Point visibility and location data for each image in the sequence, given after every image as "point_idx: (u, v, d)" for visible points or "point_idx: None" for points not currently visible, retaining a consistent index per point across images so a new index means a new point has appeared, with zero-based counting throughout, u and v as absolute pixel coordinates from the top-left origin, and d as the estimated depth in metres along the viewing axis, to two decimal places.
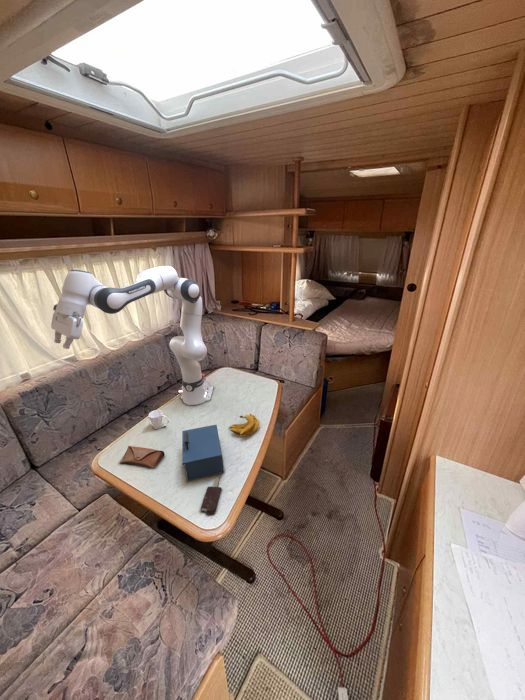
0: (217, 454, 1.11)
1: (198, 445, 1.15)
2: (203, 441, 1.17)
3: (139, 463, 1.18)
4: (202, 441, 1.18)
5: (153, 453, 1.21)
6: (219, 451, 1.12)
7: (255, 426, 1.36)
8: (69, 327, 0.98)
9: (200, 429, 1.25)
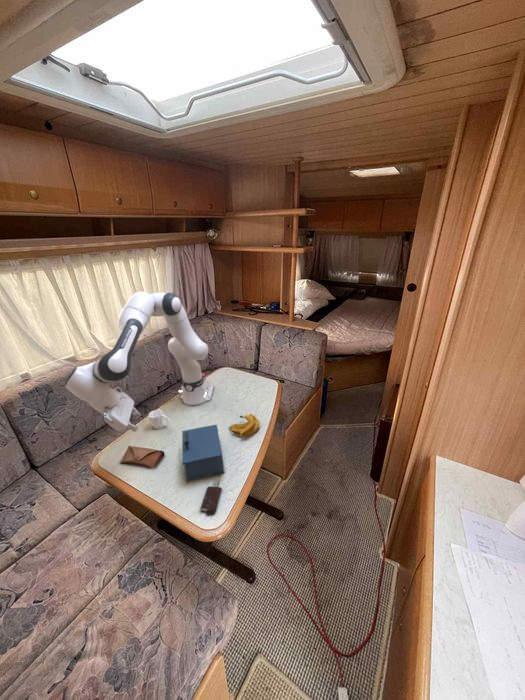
0: (217, 454, 1.11)
1: (198, 445, 1.15)
2: (203, 441, 1.17)
3: (139, 463, 1.18)
4: (202, 441, 1.18)
5: (153, 453, 1.21)
6: (219, 451, 1.12)
7: (255, 426, 1.36)
8: None
9: (200, 429, 1.25)
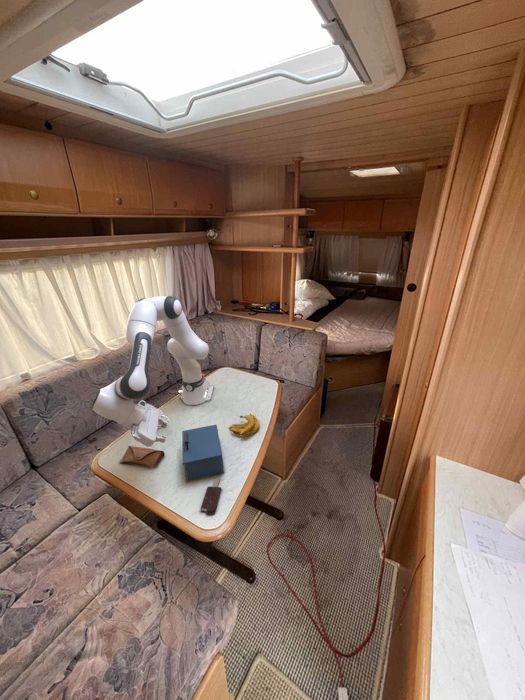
0: (217, 454, 1.11)
1: (198, 445, 1.15)
2: (203, 441, 1.17)
3: (139, 463, 1.18)
4: (202, 441, 1.18)
5: (153, 453, 1.21)
6: (219, 451, 1.12)
7: (255, 426, 1.36)
8: None
9: (200, 429, 1.25)
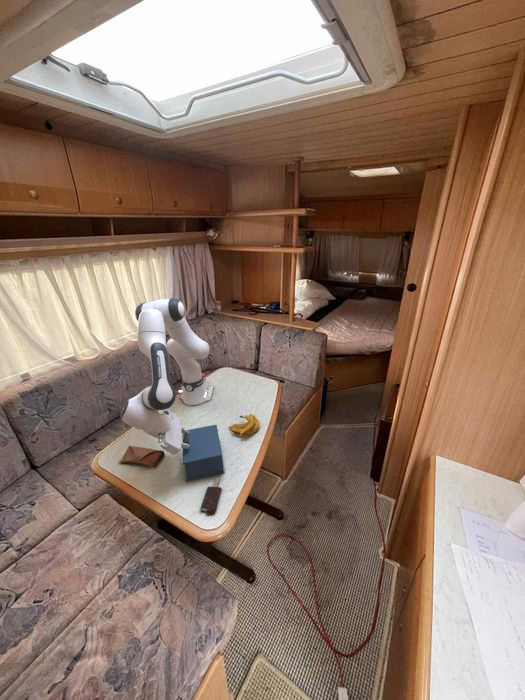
0: (217, 454, 1.11)
1: (198, 446, 1.15)
2: (203, 441, 1.17)
3: (139, 463, 1.18)
4: (202, 441, 1.18)
5: (153, 453, 1.21)
6: (219, 451, 1.12)
7: (255, 426, 1.36)
8: None
9: (200, 429, 1.25)
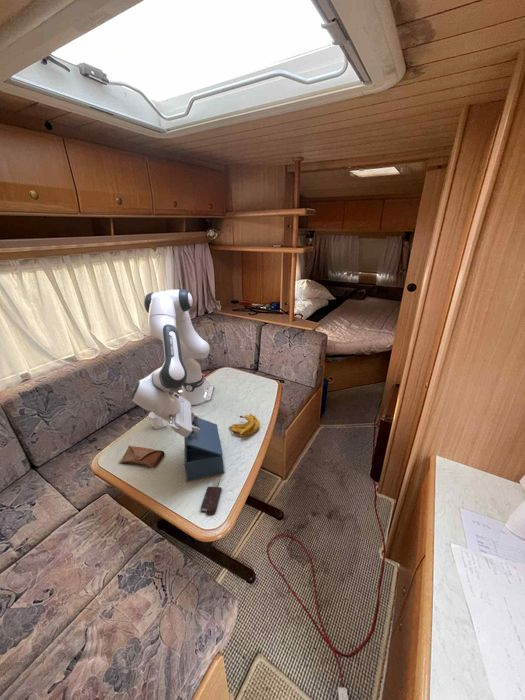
0: (218, 452, 1.10)
1: (201, 435, 1.14)
2: (206, 434, 1.16)
3: (139, 463, 1.18)
4: (205, 433, 1.16)
5: (153, 453, 1.21)
6: (220, 450, 1.12)
7: (255, 426, 1.36)
8: None
9: (203, 421, 1.24)
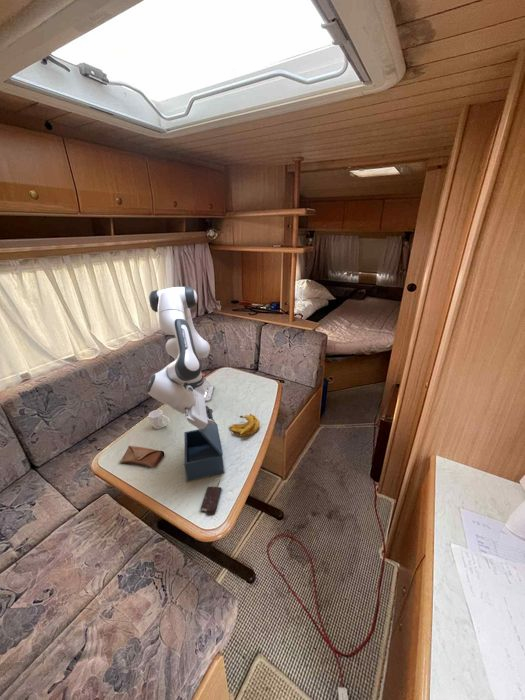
0: (220, 451, 1.10)
1: (209, 429, 1.13)
2: (211, 429, 1.16)
3: (139, 463, 1.18)
4: (211, 428, 1.16)
5: (153, 453, 1.21)
6: (221, 450, 1.12)
7: (255, 426, 1.36)
8: None
9: None
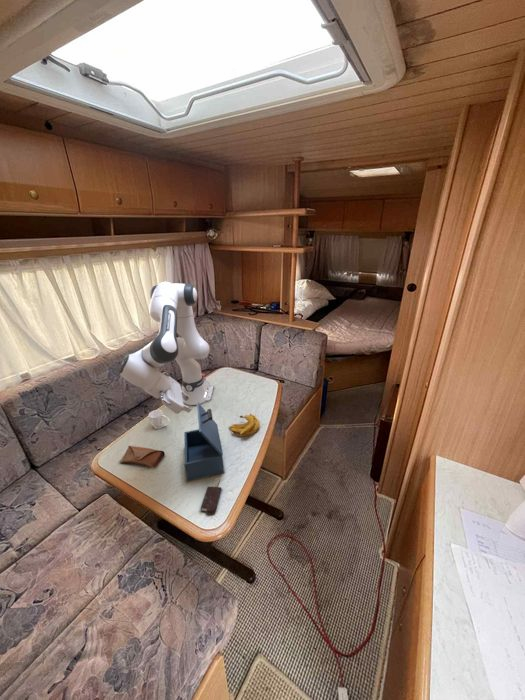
0: (220, 451, 1.10)
1: (209, 429, 1.13)
2: (211, 429, 1.16)
3: (139, 463, 1.18)
4: (211, 428, 1.16)
5: (153, 453, 1.21)
6: (221, 450, 1.12)
7: (255, 426, 1.36)
8: None
9: None
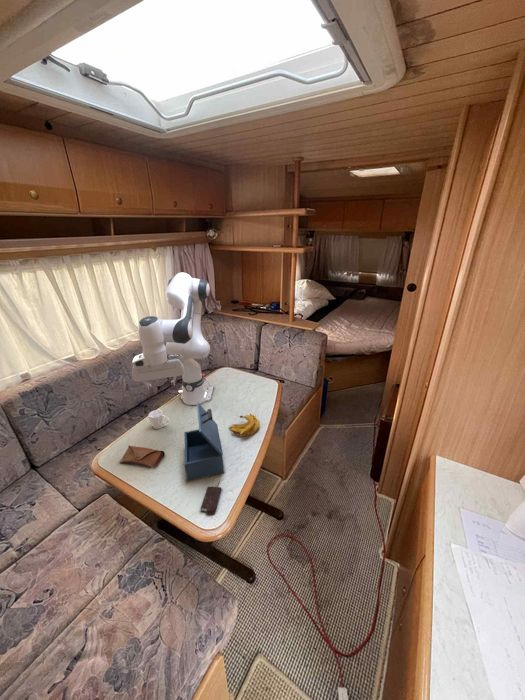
0: (220, 451, 1.10)
1: (209, 429, 1.13)
2: (211, 429, 1.16)
3: (139, 463, 1.18)
4: (211, 428, 1.16)
5: (153, 453, 1.21)
6: (221, 450, 1.12)
7: (255, 426, 1.36)
8: (178, 368, 1.12)
9: None
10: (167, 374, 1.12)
